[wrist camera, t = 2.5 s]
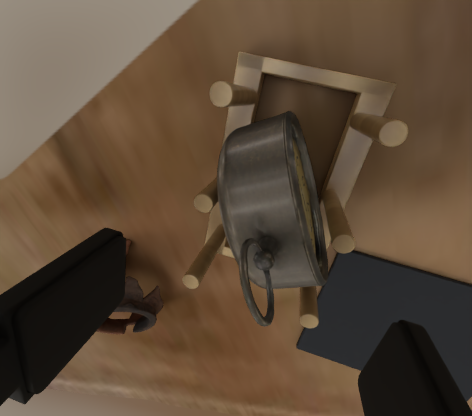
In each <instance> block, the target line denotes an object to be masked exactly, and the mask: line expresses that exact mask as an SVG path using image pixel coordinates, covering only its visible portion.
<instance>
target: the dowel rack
mask: <svg viewBox="0 0 472 416" xmlns="http://www.w3.org/2000/svg"><path fill="white" fill-rule="evenodd" d="M265 74H267V75H271V76H276V77H281V78H285V79H290V80H295V81H300V82H304V83H309V84H314V85H318V86H323V87H328V88H332V89H337V90H342V91H347V92H351V93H356V94H357V95H356V98H355V101H354V103H353V106H352V109H351V111H350V114H349V117H348V120H347V122H346V125H345V128H344V131H343V133H342V136H341V139H340V141H339V144H338V147H337V150H336V152H335V155H334V158H333V161H332V163H331V166H330V169H329V171H328V174H327V177H326V180H325V182H324V185H323V188H322V191H321V193H320V196H319V199H318V200H319V205H320V211H321V215H322V220H323V228H324V235H325V243H326V251H327V249H328V246H329V244H330V242H332V246H333V248H334V250H335V251H337V252H339V253H349V252H351V251H352V250H353V249H354V248H355V245H356V243H355V239H354V237H353V234H352V232H351V229H350V226H349V224H348V221H347V218H346V216H345V213H344V208H345V206H346V204H347V201H348V199H349V196H350V194H351V192H352V189H353V187H354V185H355V182H356V180H357V177H358V175H359V173H360V170H361V168H362V166H363V163H364V161H365V158H366V156H367V154H368V151H369V149H370V147H371V144H372V142H373V140H375V141H377V142H378V143H380V144H382V145H384V146H387V147H395V146H398V145H400V144H401V143H402V142H404V140H405V139H406V138H407V135H408V127H407V125H406V123H405V122H403V121H401V120H397V119H392V118H387V117H383V116H384V113H385V111H386V109H387V106H388V104H389V101H390V99H391V97H392V94H393V92H394V90H395V87H396V83H391V82H386V81H381V80H376V79H371V78H366V77H361V76H356V75H351V74H347V73H342V72H337V71H332V70H327V69H322V68H317V67H312V66H307V65H302V64H297V63H293V62H288V61H283V60H278V59H273V58H268V57H263V56H259V55H254V54H249V53H244V52H239V54H238V60H237V65H236V71H235V77H234V82H233V83H229V82H225V81H217V82H215V83H214V84H213V85H212V86H211V88H210V92H209V95H210V99H211V101H212V103H213V104H214V105H215V106H217V107H229V111H228V116H227V122H226V127H225V133H224V139H223V144H224V142H225V140H226V138H227V137H228V135H229V134H230V133H231V132H232V131H234V130H235V129H237V128H240V127H243V126H246V125H249V124H252V123H254V120H255V116H256V111H257V107H258V102H259V97H260V93H261V88H262V84H263V79H264V75H265ZM223 144H222V146H223ZM194 205H195V208H196V209H197V210H198V211H200V212H202V213H207V212H209V211H211V212H210V218H209V223H208V229H207V235H206V240H205V246H204V247H203V249H202V250H201V252H200V253H199V254H198V256H197V257H196V259H195V260H194V262H193V263H192V265H191V266H190V268H189V269H188V271H187V272H186V274H185V275H184V277H183V283H184V285H185V286H186V287H187V288H190V289H195V288H197V287H198V286H199V284H200V282H201V280H202V279H203V277H204V275H205V273H206V271H207V270H208V268H209V266H210V264H211V262H212V261H213V259H214V257H215V255H216V254H217V253H219V254H223V255H226V256H229V257H232V258H234V256H233V254H232V251H231V249H230V246H229V243H228V240H227V238H226V235H225V231H224V228H223V223H222V219H221V214H220V209H219V201H218V191H217V178H216V179H215V180H214V181H212V182H211V183H210V184H209V185H208V186H207V187H206V188H205V189H204V190H202V191H201V192H200V193H199V194H198V195H197V196H196V197H195V199H194ZM300 323H301V325H302V326H304V327H306V328H315V327H316V326H317V325H318V324H319V317H318V304H317V292H316V286H308V287H300Z"/></svg>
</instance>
